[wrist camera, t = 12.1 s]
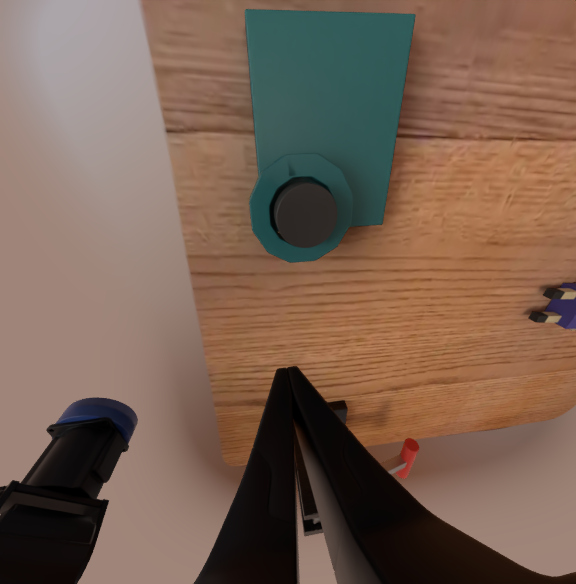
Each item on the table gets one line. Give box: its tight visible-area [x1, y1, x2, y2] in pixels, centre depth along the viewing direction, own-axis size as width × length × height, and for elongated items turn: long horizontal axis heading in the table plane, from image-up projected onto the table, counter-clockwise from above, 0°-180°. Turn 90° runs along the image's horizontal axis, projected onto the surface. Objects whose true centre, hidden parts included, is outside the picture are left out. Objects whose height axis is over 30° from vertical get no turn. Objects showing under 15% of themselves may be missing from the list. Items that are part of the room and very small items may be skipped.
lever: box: [312, 438, 419, 524], centre depth 26 cm, size 13×6×2 cm, turn 92°
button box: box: [245, 9, 415, 263], centre depth 15 cm, size 10×13×4 cm
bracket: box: [293, 401, 347, 536], centre depth 27 cm, size 10×8×10 cm
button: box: [274, 182, 337, 248], centre depth 14 cm, size 4×4×2 cm
